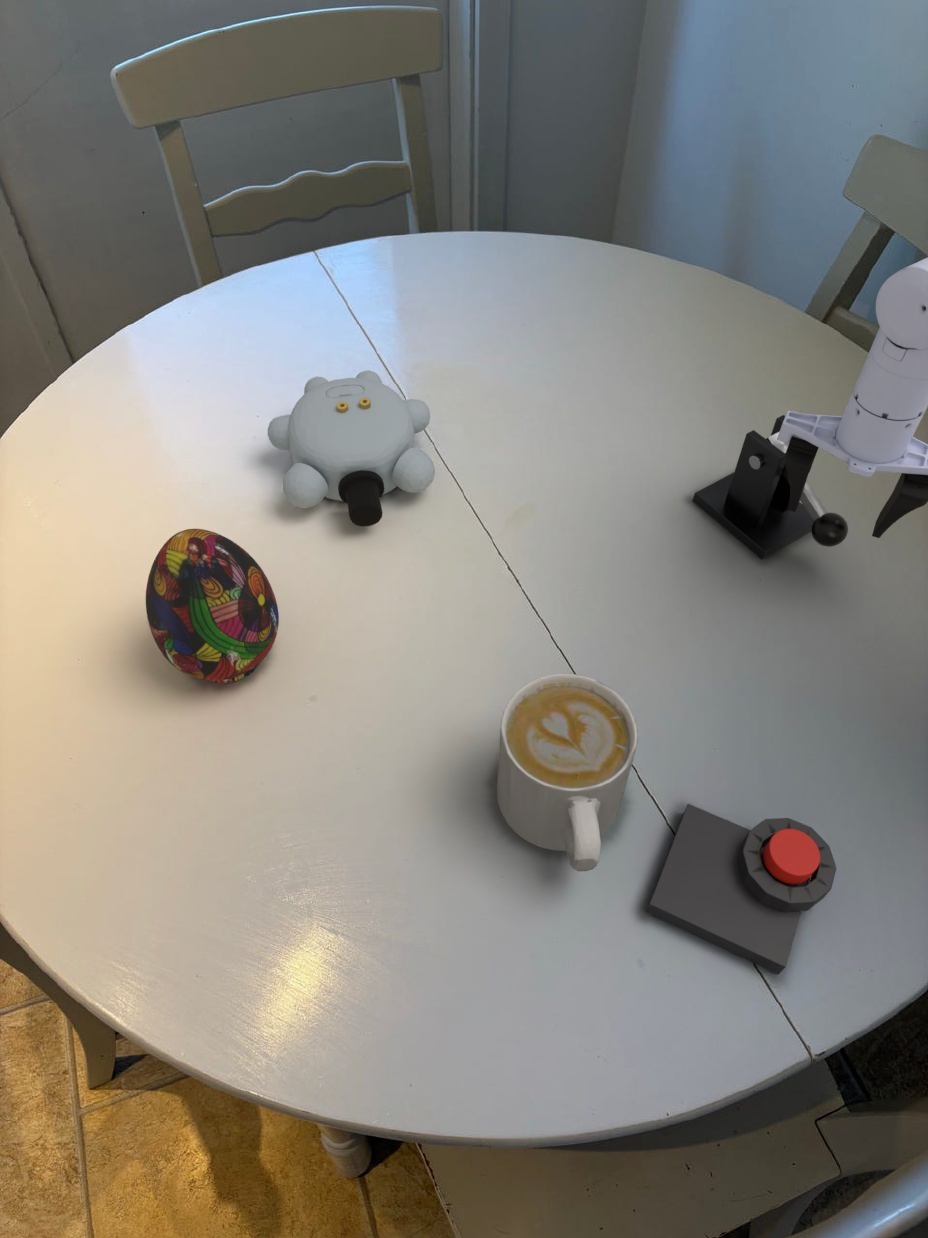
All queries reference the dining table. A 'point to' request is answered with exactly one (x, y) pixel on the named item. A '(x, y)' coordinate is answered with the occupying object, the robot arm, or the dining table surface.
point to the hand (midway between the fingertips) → (835, 517)
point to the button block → (736, 887)
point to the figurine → (352, 445)
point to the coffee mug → (565, 763)
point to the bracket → (757, 498)
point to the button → (791, 856)
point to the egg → (210, 607)
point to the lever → (817, 509)
